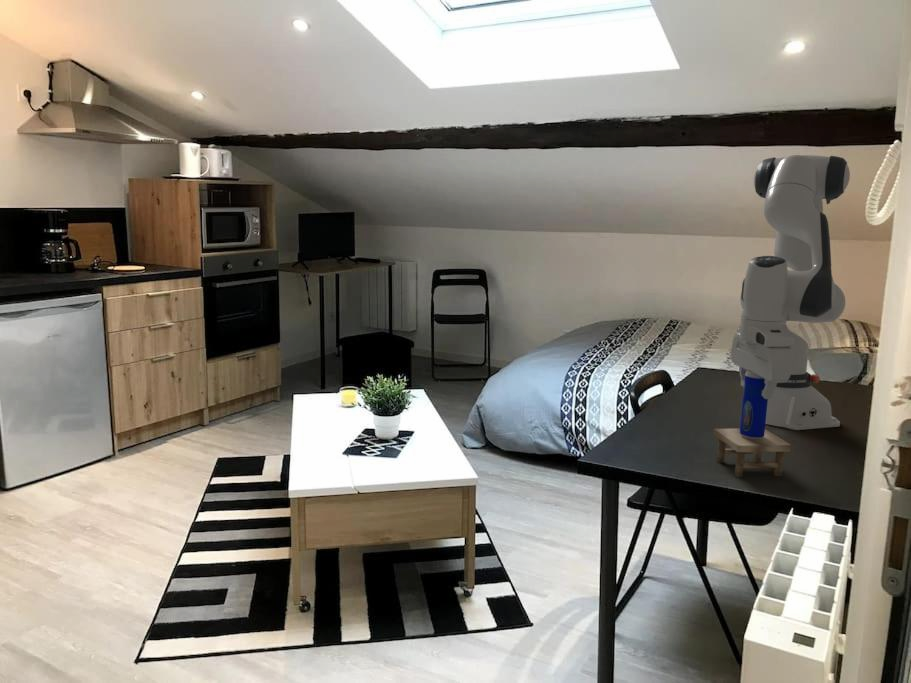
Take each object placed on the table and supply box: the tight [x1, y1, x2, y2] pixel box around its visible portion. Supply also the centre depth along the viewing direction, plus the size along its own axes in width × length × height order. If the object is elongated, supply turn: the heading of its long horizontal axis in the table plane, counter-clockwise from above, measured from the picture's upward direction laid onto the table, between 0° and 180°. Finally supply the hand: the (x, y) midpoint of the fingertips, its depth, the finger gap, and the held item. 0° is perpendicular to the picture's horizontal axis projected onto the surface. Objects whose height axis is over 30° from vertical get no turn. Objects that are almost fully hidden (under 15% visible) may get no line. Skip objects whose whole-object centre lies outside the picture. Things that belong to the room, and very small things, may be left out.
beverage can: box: [739, 370, 768, 440], centre depth 165 cm, size 5×5×15 cm
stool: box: [713, 427, 792, 478], centre depth 167 cm, size 12×12×8 cm
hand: (755, 392), depth 164 cm, fingers open, 8 cm apart
